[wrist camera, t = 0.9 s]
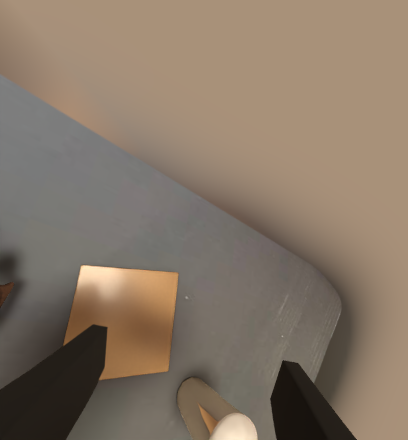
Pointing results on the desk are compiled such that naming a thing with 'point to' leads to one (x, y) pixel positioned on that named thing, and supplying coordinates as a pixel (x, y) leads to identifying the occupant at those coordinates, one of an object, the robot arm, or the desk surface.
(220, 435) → the milkshake
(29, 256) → the desk surface
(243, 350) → the desk surface
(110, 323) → the coaster
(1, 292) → the broken clay pot
